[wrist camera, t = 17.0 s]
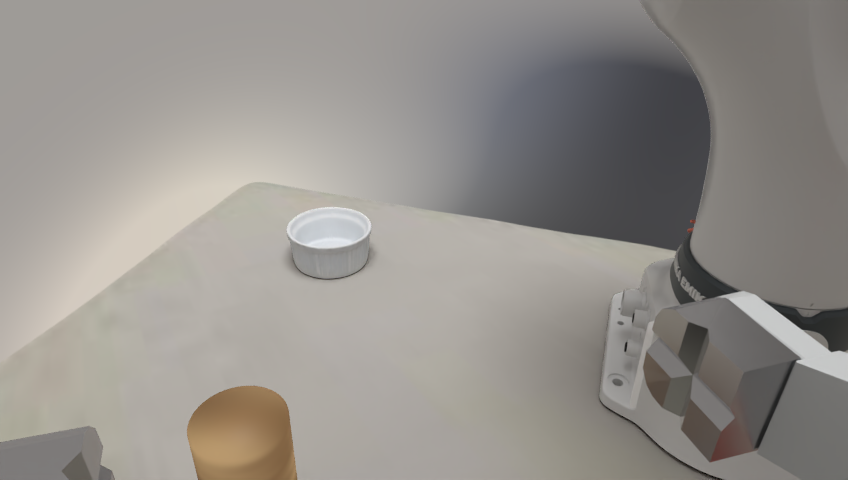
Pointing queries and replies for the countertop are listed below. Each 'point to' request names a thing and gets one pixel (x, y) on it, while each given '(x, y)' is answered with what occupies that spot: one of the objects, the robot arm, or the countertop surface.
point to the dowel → (242, 436)
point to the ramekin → (329, 241)
